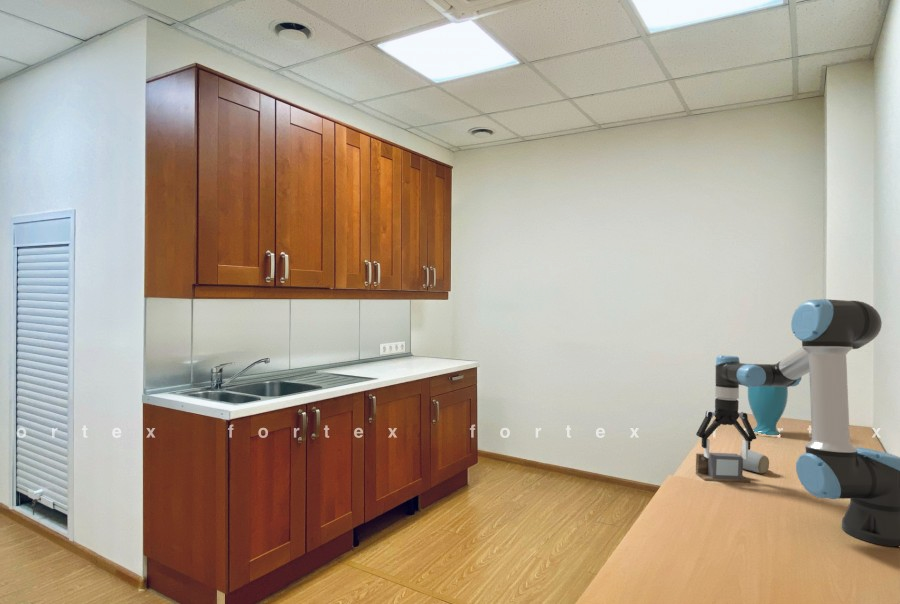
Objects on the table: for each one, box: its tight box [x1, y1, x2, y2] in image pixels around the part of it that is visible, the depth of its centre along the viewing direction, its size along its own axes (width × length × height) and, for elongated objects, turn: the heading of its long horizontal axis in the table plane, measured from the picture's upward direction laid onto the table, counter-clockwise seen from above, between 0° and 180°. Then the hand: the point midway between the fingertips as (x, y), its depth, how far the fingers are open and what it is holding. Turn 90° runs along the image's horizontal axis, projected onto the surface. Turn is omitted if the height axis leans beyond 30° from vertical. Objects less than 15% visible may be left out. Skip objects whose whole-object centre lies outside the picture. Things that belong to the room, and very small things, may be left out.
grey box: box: [708, 452, 742, 479], centre depth 194 cm, size 4×10×8 cm, turn 88°
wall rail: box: [695, 452, 751, 483], centre depth 196 cm, size 8×16×8 cm, turn 88°
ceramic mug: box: [739, 449, 770, 475], centre depth 206 cm, size 11×8×8 cm
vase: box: [747, 386, 789, 435], centre depth 270 cm, size 17×17×30 cm
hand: (725, 458), depth 194 cm, fingers open, 13 cm apart
